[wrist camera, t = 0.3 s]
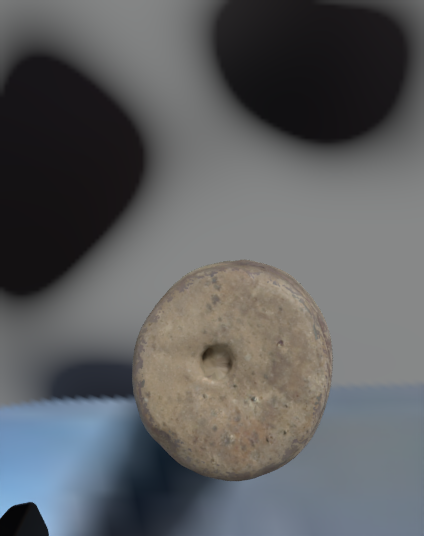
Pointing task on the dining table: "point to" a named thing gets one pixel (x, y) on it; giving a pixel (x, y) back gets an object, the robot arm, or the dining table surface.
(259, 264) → the carving
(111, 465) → the dining table surface
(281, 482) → the dining table surface
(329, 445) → the dining table surface
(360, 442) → the dining table surface
